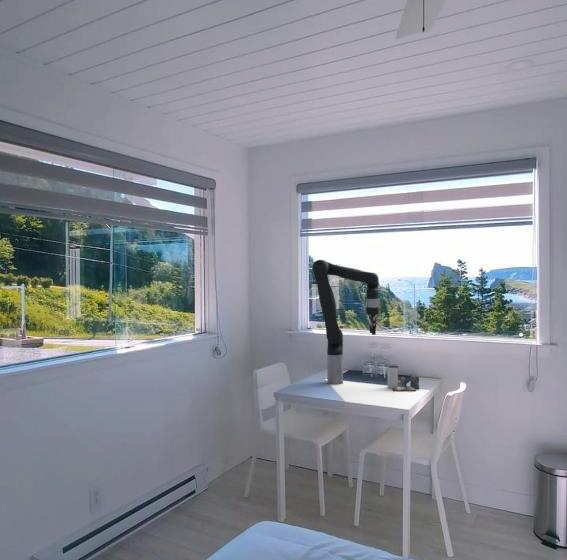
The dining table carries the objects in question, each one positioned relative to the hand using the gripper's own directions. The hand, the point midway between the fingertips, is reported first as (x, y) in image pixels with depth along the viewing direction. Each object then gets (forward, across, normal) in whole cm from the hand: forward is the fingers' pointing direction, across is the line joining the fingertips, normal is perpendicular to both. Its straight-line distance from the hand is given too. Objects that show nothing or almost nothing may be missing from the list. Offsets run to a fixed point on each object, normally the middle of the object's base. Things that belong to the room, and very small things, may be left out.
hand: (372, 333), depth 287 cm
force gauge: (+30, +8, +11) cm, 33 cm away
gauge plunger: (+29, +10, +16) cm, 35 cm away
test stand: (+30, +10, +16) cm, 36 cm away
